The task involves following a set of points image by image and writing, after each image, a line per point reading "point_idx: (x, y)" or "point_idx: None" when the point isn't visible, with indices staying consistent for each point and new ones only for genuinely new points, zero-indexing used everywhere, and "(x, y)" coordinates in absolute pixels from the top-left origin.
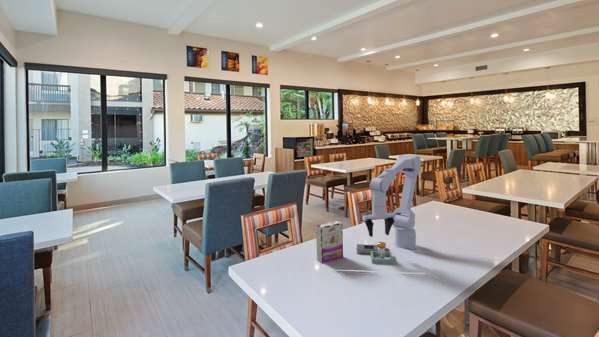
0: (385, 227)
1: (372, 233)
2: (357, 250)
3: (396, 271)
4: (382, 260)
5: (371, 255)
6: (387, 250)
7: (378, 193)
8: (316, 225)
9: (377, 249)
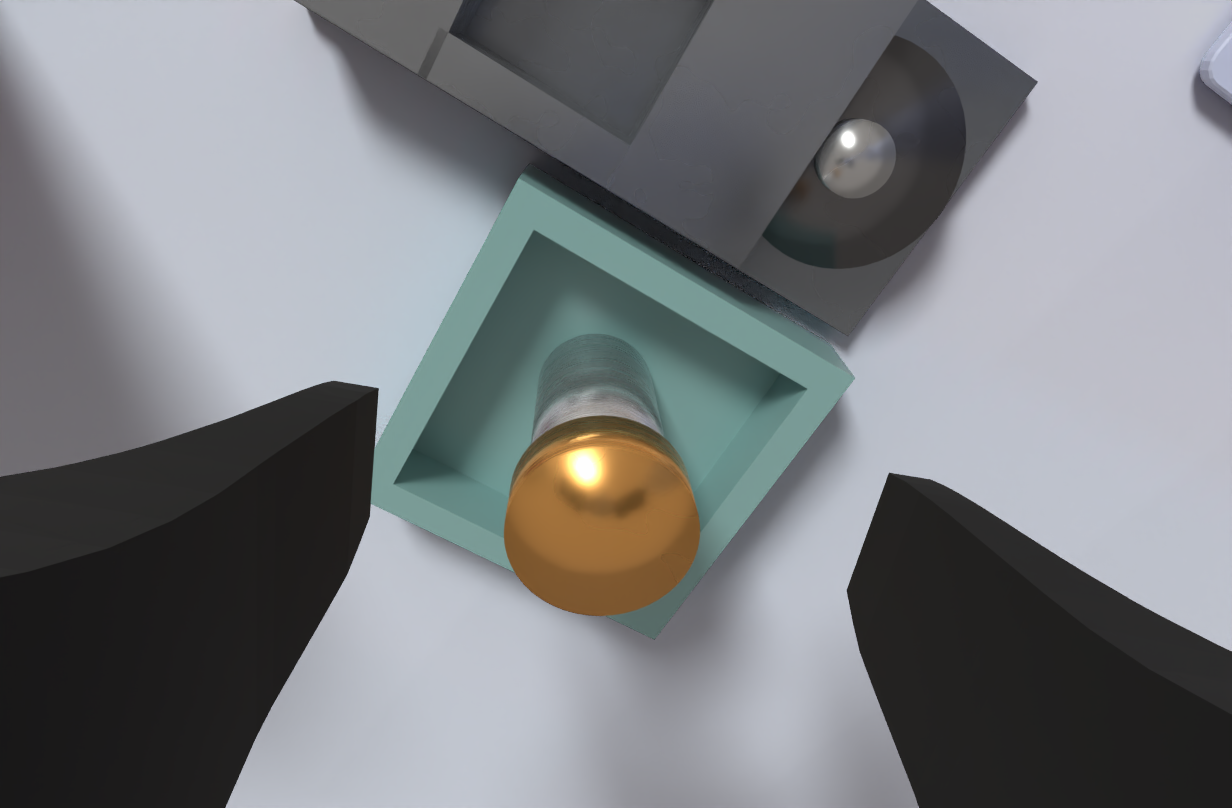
0: (990, 595)
1: (318, 607)
2: None
3: (565, 715)
4: (506, 558)
5: (417, 377)
6: (876, 247)
7: None
8: None
9: (682, 196)
